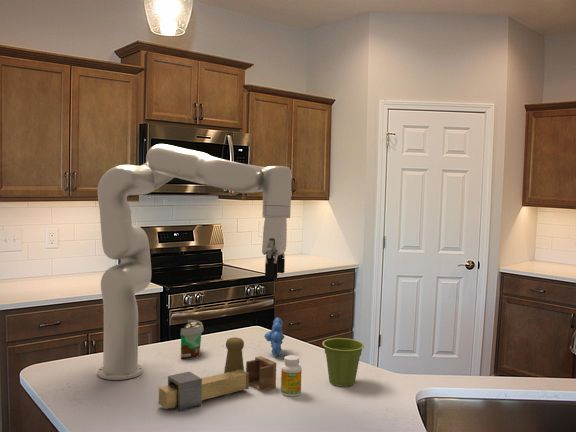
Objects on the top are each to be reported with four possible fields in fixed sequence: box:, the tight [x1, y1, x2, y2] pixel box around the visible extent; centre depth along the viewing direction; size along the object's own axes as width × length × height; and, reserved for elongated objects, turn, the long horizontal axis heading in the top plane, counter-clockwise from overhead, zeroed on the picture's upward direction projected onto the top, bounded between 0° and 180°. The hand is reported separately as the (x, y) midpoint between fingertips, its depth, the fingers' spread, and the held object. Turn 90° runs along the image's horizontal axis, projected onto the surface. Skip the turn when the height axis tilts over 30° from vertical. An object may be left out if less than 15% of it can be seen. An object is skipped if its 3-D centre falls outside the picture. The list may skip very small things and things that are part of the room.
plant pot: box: [321, 337, 365, 388], centre depth 160 cm, size 12×12×11 cm
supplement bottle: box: [280, 354, 303, 398], centre depth 151 cm, size 5×5×10 cm
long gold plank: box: [158, 369, 250, 409], centre depth 145 cm, size 4×24×4 cm, turn 129°
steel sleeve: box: [167, 371, 203, 413], centre depth 141 cm, size 6×6×7 cm
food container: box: [180, 319, 205, 360], centre depth 182 cm, size 12×6×10 cm, turn 179°
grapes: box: [263, 316, 285, 357], centre depth 185 cm, size 12×7×12 cm, turn 176°
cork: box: [223, 336, 245, 373], centre depth 163 cm, size 6×6×11 cm
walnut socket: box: [245, 355, 277, 392], centre depth 156 cm, size 7×5×7 cm
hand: (275, 275), depth 153 cm, fingers open, 9 cm apart
